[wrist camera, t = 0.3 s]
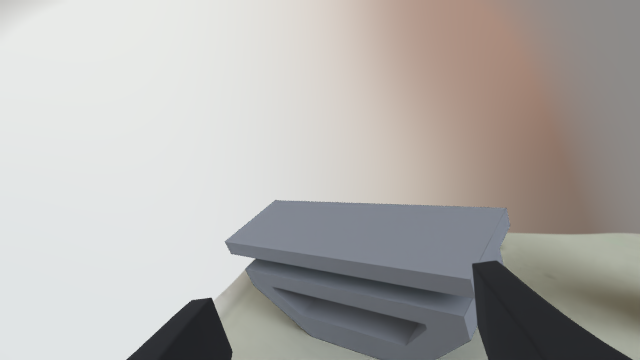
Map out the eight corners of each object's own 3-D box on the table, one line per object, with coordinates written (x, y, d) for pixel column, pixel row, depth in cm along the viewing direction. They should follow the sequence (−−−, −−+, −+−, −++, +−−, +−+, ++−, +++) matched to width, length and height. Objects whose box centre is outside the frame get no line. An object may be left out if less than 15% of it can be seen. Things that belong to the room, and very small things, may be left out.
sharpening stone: (529, 319, 33) (506, 208, 29) (502, 400, 28) (470, 279, 24) (308, 275, 50) (275, 200, 46) (266, 321, 45) (224, 241, 41)
